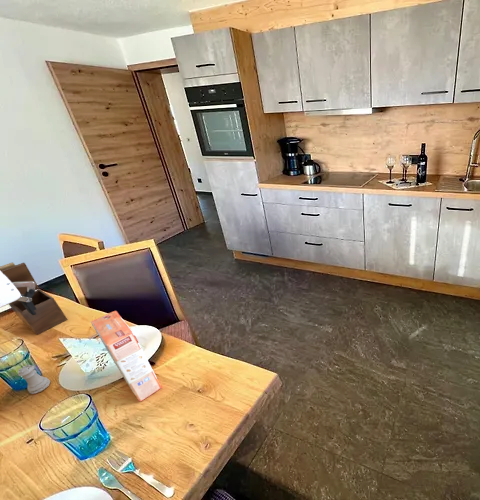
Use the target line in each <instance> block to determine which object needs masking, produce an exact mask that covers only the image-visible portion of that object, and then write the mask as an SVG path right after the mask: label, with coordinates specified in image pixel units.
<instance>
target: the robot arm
mask: <svg viewBox="0 0 480 500" xmlns="http://www.w3.org/2000/svg"><path fill="white" fill-rule="evenodd" d="M35 282H36V281H35ZM35 282H33V281H24V282H11V281H10V280H9V279H8V278H7V277H6V276H5V275H4V274H3V273H2V272H1V271H0V308H2V307H5V306H7V305H9V303H12V302H14V301H16V300H18V301H22V302H21V303H22V304H23V305H24V307H25V308H26V309H27V311H28V312H29V313H30V314H32V315H36V312H35V311H34V310H36V307H35V306H34V304H33V303H32V302H31V301H32V297H33V295H34V293H35V291H36V290H35V285H36V284H37V282H36V283H35ZM17 287H27V291H26V292H25V294H24V295H21V294H20V292H19V291H18V289H17Z"/></svg>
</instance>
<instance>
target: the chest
mask: <svg viewBox="0 0 480 500" xmlns="http://www.w3.org/2000/svg"><path fill="white" fill-rule="evenodd" d="M21 302H22V301H18V300H16V301H14V302H12V303H9V304H8V306H9V307H10V308H11V310H12V311H13V312H14V313H15V314H16V316H17V317H18V318H19V320H20V321H21V322H22V324H23V325H24V326H25V327H27V328H28V329H29V330H30V331H31V332H33V333H34V334H35V335H37V336H39V335H40V334H42V333H44V332H46V331H48V330H50V329H52V328H54V327H56V326H58V325H60V324H62V323H64V322H67V321H68V317H67V316H66V314H65V313H64V311H63V310H62V309H61V307H60V306H59V304H58V302H57V301H56V300H55V299H54V297H53V296H51V295H50V294H48V293H47V292H45V291H43V290H41V289H40V288H39V289H38V290H35V293H34V295H33V297H32V301H31V302H32V303H33V304H34V306H35V307H36V310H34V311H35V312H36V315H32V314H30V313H29V312H28V311H27V309H26V308H25V307H24V305H23V304H22V303H21Z"/></svg>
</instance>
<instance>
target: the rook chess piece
mask: <svg viewBox="0 0 480 500" xmlns="http://www.w3.org/2000/svg"><path fill="white" fill-rule="evenodd" d="M35 368H36V367H35V365H32V364H26V366H25V365H23V366H22V367H20V368H18V370H17V372H18V373H17V375H18V376H19V377H22V379H23V380H25V381H26V383H27V388H26V390H27V392H28V393H29V394H31V395H36V394H40V393H42V392H43V391H45V390H46V389H48V387H49V386H50V384H51V379H49V377H46V376H42V375H41V374H39V373H37V370H35Z"/></svg>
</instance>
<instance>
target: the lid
mask: <svg viewBox="0 0 480 500" xmlns="http://www.w3.org/2000/svg"><path fill="white" fill-rule="evenodd" d="M0 271H1V272H2V273H3V274H4V275H5V276H6V277H7V278H8V279H9V280H10V281H11V282H24V281H33V282H35V283H36V285H35V291H37V290H39V289H40V287H39V286H38V283H37V282H36V280H35V278H34V277H33V275H32V273H31V271H30V270H29V268H28V266H27V265H26V262H21V263H18V264H15V263H14V262H9V263H6V264H3V265H1V266H0ZM17 289H18V291H19V292H20V294H21V295H24V294H25V292H26V291H27V287H17Z"/></svg>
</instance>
